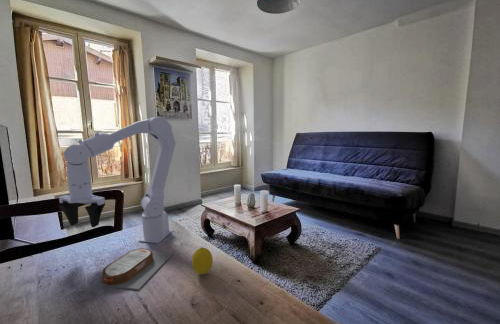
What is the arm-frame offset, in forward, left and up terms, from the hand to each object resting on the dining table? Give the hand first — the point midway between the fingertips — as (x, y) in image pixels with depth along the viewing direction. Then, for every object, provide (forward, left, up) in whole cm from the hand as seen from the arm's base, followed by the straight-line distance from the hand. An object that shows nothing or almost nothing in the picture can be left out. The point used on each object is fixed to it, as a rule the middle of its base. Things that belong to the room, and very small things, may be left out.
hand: (84, 225), depth 76 cm
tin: (+5, +15, -8) cm, 17 cm away
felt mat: (+4, +22, -10) cm, 24 cm away
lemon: (+4, +41, -10) cm, 42 cm away
